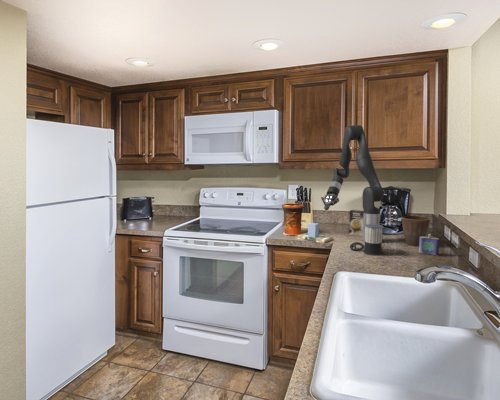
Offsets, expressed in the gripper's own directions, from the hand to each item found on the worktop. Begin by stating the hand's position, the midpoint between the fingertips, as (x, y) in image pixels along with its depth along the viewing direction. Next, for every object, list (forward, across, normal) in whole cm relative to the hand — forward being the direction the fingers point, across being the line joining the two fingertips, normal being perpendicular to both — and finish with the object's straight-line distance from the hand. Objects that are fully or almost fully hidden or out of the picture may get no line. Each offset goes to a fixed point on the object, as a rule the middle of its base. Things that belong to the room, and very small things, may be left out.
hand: (325, 209), depth 224 cm
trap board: (+22, 0, +2) cm, 22 cm away
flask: (+20, +63, +7) cm, 66 cm away
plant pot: (+7, +52, +19) cm, 55 cm away
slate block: (+22, -1, 0) cm, 22 cm away
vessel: (+18, -20, +6) cm, 28 cm away
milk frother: (+30, +35, -4) cm, 46 cm away
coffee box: (+1, +15, +24) cm, 28 cm away
